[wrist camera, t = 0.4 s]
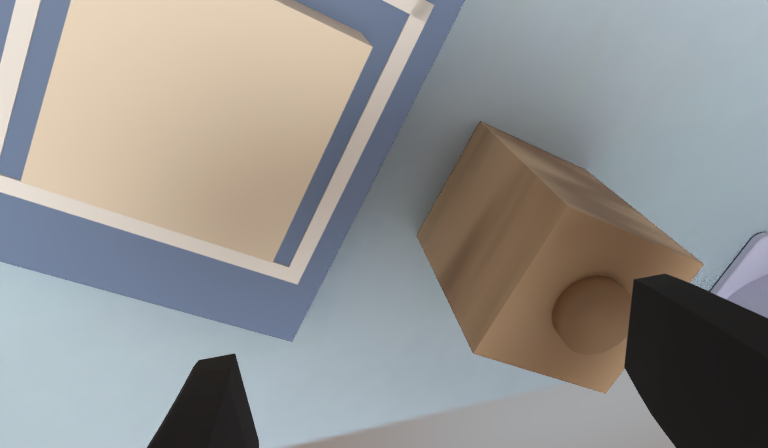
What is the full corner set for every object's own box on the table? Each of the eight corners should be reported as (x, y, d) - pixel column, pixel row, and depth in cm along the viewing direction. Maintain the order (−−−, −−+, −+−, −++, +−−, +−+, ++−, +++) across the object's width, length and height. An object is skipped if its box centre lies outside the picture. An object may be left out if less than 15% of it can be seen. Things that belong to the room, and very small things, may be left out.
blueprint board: (482, -66, 17) (526, -61, 14) (290, 321, 22) (295, 381, 19) (69, -310, 13) (19, -367, 11) (-56, 221, 18) (-113, 278, 15)
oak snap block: (586, 170, 21) (719, 276, 15) (519, 273, 23) (616, 408, 17) (479, 120, 20) (579, 217, 14) (416, 235, 21) (480, 369, 15)
